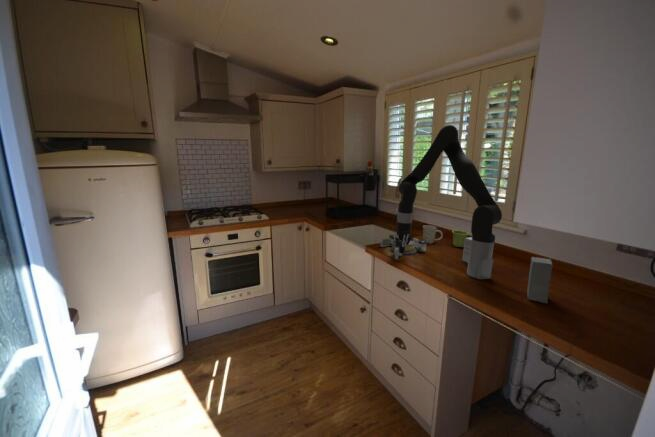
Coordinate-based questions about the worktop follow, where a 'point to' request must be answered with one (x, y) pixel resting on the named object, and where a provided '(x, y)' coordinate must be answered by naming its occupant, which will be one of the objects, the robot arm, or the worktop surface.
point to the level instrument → (408, 248)
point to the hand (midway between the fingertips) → (401, 253)
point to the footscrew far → (388, 241)
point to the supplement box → (466, 249)
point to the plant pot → (459, 238)
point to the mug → (430, 233)
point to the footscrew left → (397, 252)
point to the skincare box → (539, 279)
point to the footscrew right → (420, 245)
